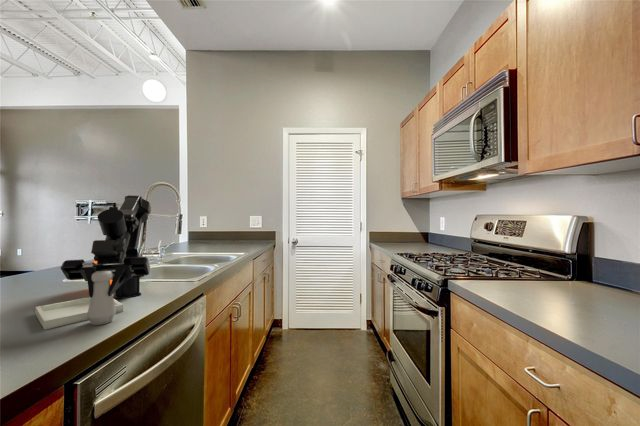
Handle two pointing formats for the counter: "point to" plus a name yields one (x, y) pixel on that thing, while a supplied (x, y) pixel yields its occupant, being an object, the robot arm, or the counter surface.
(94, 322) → the salt shaker
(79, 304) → the tray
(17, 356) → the counter surface
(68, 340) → the counter surface
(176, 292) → the counter surface
